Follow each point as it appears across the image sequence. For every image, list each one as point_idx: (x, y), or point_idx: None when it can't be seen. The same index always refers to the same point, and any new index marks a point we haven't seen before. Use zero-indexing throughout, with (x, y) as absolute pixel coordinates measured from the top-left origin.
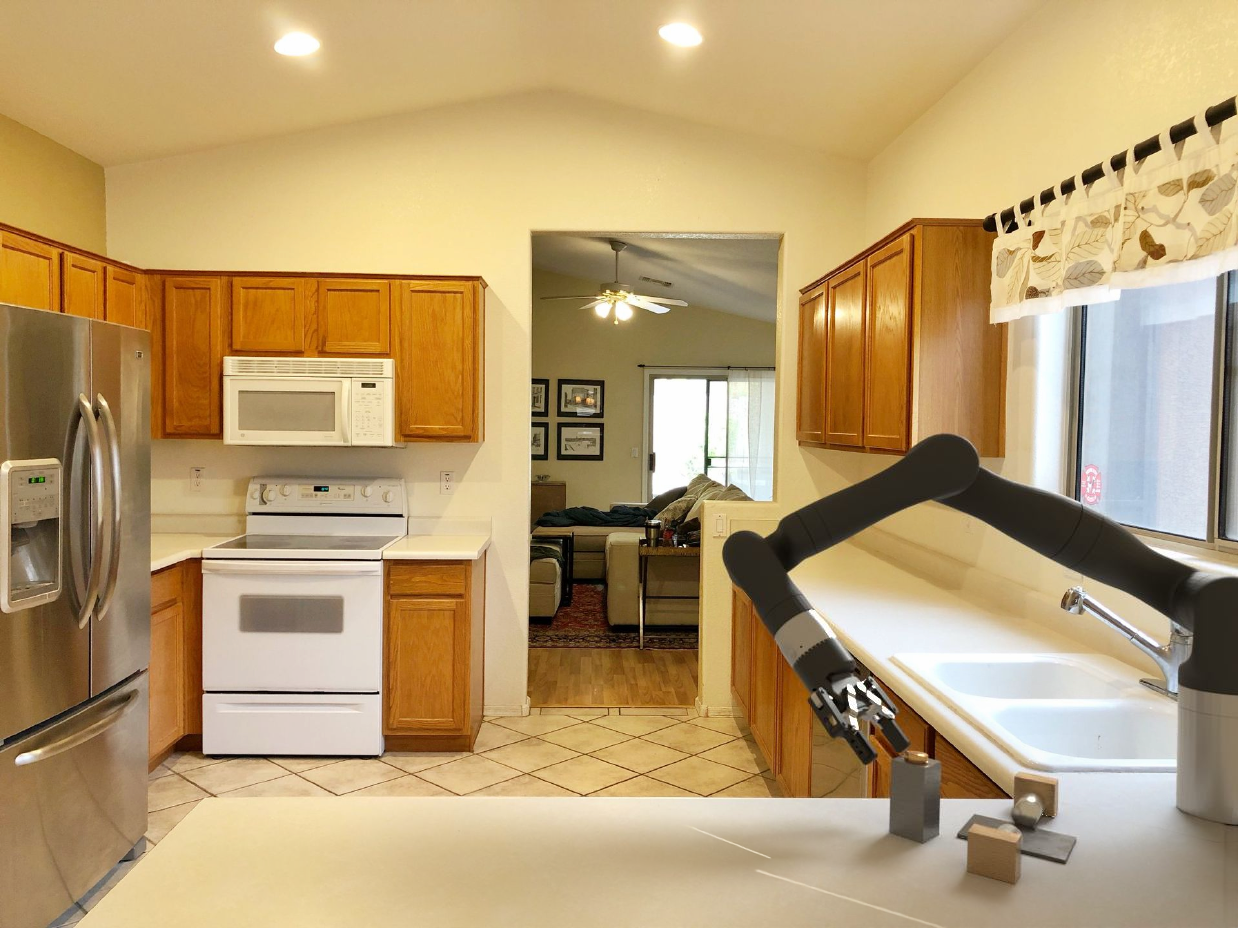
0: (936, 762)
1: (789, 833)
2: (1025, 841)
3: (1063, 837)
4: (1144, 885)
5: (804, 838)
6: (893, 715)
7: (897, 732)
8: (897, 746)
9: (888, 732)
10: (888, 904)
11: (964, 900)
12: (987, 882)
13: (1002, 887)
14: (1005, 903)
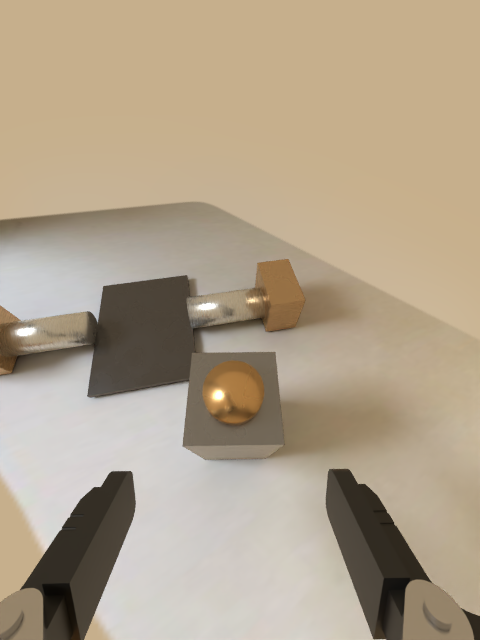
0: (209, 355)
1: None
2: (159, 314)
3: (114, 293)
4: (183, 235)
5: (426, 567)
6: (14, 603)
7: (103, 527)
8: (127, 516)
9: (97, 580)
10: (442, 345)
11: (356, 305)
12: None
13: None
14: (324, 283)
